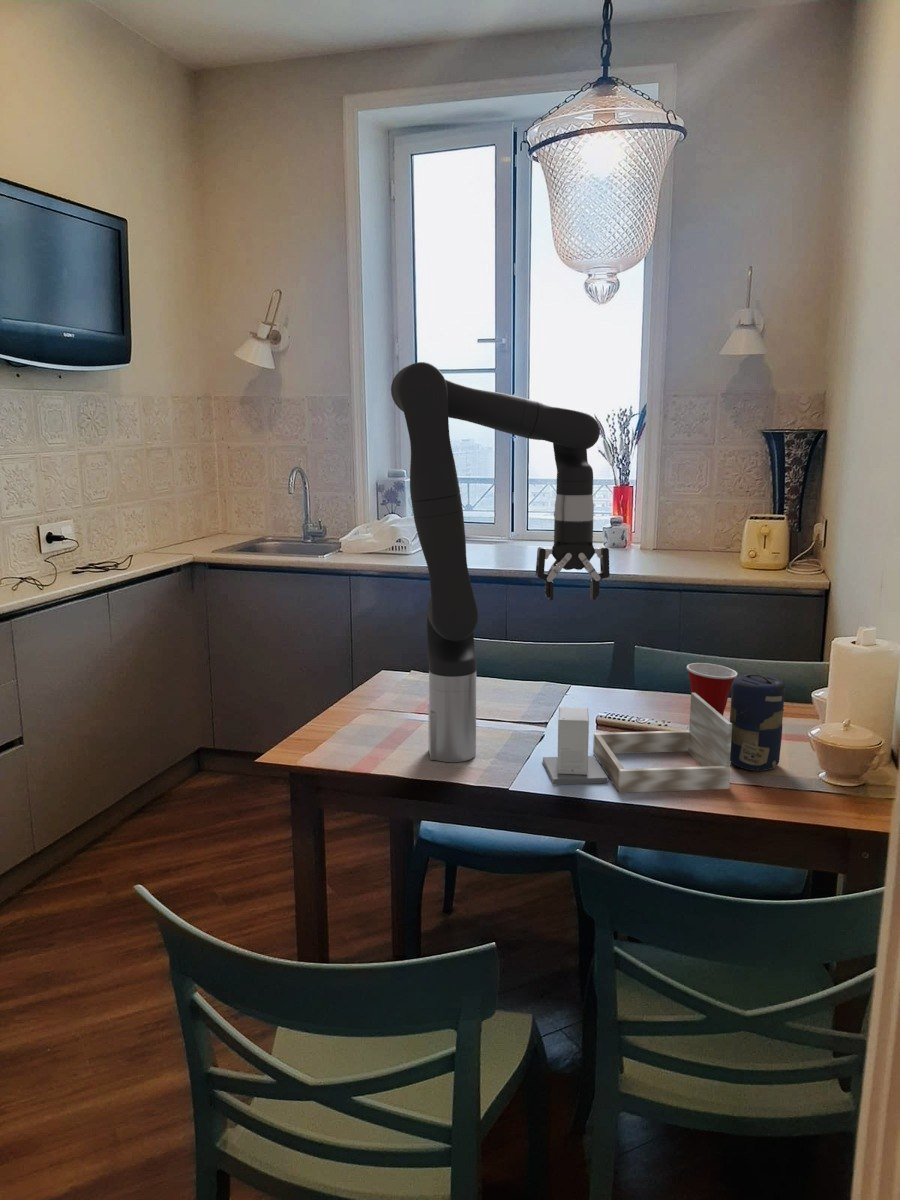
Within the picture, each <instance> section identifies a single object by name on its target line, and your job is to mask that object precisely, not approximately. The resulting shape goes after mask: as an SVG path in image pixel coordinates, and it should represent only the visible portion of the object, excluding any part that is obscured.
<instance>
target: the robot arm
mask: <svg viewBox="0 0 900 1200" xmlns="http://www.w3.org/2000/svg"><path fill="white" fill-rule="evenodd" d="M390 394H391V397H392V400H393V402H394V404H395V406H396V407H397V408H398V409H399V410H400V411H401V412H403V415H404V419H405V422H406V427H407V432H408V436H409V442H410V443H409V444H410V445H409V446H410V465H409V467H410V468H409V493H410V500H411V508H412V515H413V519H414V525H415V528H416V529H415V530H416V532H417V537H418V541H419V544H420V546H421V547H420V548H421V550H422V553H423V557H424V559H425V562H426V567H427V570H428V576H429V584H430V585H429V587H430V599H429V601H428V603H427V608H426V635H427V637H426V638H427V641H426V642H427V643H426V645H427V646H426V647H427V660H428V689H429V690H428V696H429V697H428V706H427V707H428V713H427V714H428V715H427V717H428V753H429V760H430V761H438V762H439V761H440V762H445V763H459V762H460V763H461V762H466V761H469V760H472V759H474V758H475V757H476V756H477V755H476V754H477V655H476V648H475V630H476V628H477V625H478V622H479V617H480V615H479V614H480V613H479V609H478V605H477V602H476V597H475V595H474V590H473V586H472V583H471V578H470V574H469V569H468V562H467V561H468V559H467V544H466V543H467V542H466V530H465V529H466V527H465V520H464V519H465V518H464V511H463V502H462V495H461V489H460V483H459V479H458V473H457V468H456V467H457V466H456V462H455V457H454V453H453V448H452V443H451V438H450V424H449V423H450V422H449V420H450V419H455V420H460V421H463V422H464V421H465V422H468V423H471V424H476V425H480V426H482V427H485V428H489V429H493V430H496V431H499V432H503V433H506V434H509V435H514V436H517V437H521V438H525V439H529V440H537V441H545V442H549V443H552V447H553V454H554V460H555V461H554V462H555V466H556V493H555V494H556V495H555V503H554V512H553V518H554V519H553V521H554V524H553V526H554V527H553V545H552V548H549V547H548V548H547V547H546V548H545V547H543V546H539V547H537V552H536V563H535V564H536V565H535V576H536V577H537V578H538V579H541V580H544V596H545V597H546V598H547V600H548V601H553V600H554V582H553V580H554V579H555V578H556V576H557V575H558V574H559V573H561V571H562V570H565V571H571V570H573V569H574V570H577V571H579V570H583V569H585V571H586V572H587V573H588V574H589V576H590V577H591V579H590V582H589V587H590V588H589V589H590V591H589V599H590V600H591V601H595V600H596V599H597V598H598V597H599V596H600V581H601V580H603V579H605V578H606V579H608V578H609V577H610V550H609V548H608V547H607V546H604V545H603V546H600V547H595V546H594V544H593V543H594V541H593V540H594V510H595V507H594V495H593V493H594V472H593V470H594V469H593V467H592V466H591V465H590V464H589V462H588V450H589V449H590V448H592V447H594V446H595V445H596V444H597V442H598V441H599V439H600V434H601V429H600V428H601V427H600V425H599V423H598V421H597V419H596V418H595V417H593V415H590V414H588V413H587V412H583V411H578V410H575V409H574V410H573V409H568V408H563V407H557V406H552V405H550V404H549V405H548V404H546V403H543V402H541V401H536V400H533V399H529V398H525V397H522V396H517V395H513V394H507V393H503V392H497V391H491V390H485V389H479V388H474V387H469V386H466V385H461V384H459V383H455V382H453V381H451V380H448V379H445V376H444V375H443V373H442V372H441V370H440V369H439V368H438V367H437V366H435V365H434V364H431V363H429V362H425V361H419V362H415V363H411V364H410V365H407V366H405V367H403V368H402V369H401V370H400V371H398V372H397V373H396V375H395V376H394V378H393V380H392V382H391V386H390ZM550 555H552V557H553V558H554V559H555V561H553V562H552V564H551V566H550V568H549V569H548V570H547V572H545V566H546V565H545V564H546V560H547V559H549V557H550ZM594 555H596V557H597V558H598V559H600V560H599V561H600V564H599V567H600V571H598V572H597V570H596V569H595V568H594V566H593V564H592V563H591V562H590V561H591V559H592V558H593V556H594Z"/></svg>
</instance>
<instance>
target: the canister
mask: <svg viewBox="0 0 900 1200" xmlns="http://www.w3.org/2000/svg"><path fill="white" fill-rule="evenodd" d="M785 694H786V686H785V683H784V682H783V681H782V680H780V679H779V678H777V677H774V676H769V675H763V674H760V673H758V674H757V673H749V674H741V675H737V677H735V679H734V680H733V683H732V686H731V697H730V698H731V699H730V711H729V722H730V723H732V737H731V753H730V763H731V764H733V765H734V766H737V768H741V769H744V770H750V771H768V770H771V769H774V768H776V767H777V766H778V765H779V763H780V759H781V746H782V738H783V737H782V736H783V720H784V719H783V716H784V706H785V705H784V704H785V696H786V695H785Z"/></svg>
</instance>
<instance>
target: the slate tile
mask: <svg viewBox="0 0 900 1200" xmlns="http://www.w3.org/2000/svg"><path fill="white" fill-rule="evenodd" d="M542 764H543V766H544V768H545V770H546V772H547V774H548V777H549V779H550V781H551V783H552V784H557V785H577V784H578V785H581V784H586V785H587V784H608V782H609V781H608V780H609V779H608V778H609V776H608V774H607V773H606V771H605V770H604V768H603V767H602V765H601V764H600V762H599V761H598V759H597V758H596V756H595V755H588V774H587V775H579V774H558V756H544V757H542Z"/></svg>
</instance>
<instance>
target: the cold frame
mask: <svg viewBox="0 0 900 1200" xmlns="http://www.w3.org/2000/svg"><path fill="white" fill-rule="evenodd" d="M689 706H690V710H689V711H690V712H689V724H688V725H689V730H688V729H687V730H658V731H655V730H654V731H652V730H651V731H626V732H625V731H624V732H618V731H617V732H593V742H592V743H593V746H592V747H593V748H592V749H593V750H592V753H593V754H594V757H595V758H596V760H597V761H598V763H599V764H600V766H601V767H602V769H603V770H604V772H605V774H606V775H607V777H608V778H609V779H610V780H611V782H612V783H613V784H614V786H615V788H616V790H617V791H618V792H619V793H645V792H646V793H647V792H648V793H649V792H676V791H677V792H679V791H706V790H708V791H709V790H730V784H731V771H732V769H731V766H730V765H731V761H730V753H731V737H732V723H730V720H728V719H727V718H726V717H724V715H723V716H722V715H721V714H720V713H719V712H717V711H716V710H715V709H714V708H713V707H712V706H710V705H709V704H708V703H707V702H706V701H704V700H703V699H702V698H701V697H700V696H699V695H697V694H696V693H691V692H690V705H689ZM671 752H672V753H675V752H677V753H679V752H688V753H689V754H690V755H691V756H692V757H693V758H694V760H696V762H698V764H700V765H701V766H679V767H678V766H677V767H675V766H674V767H647V768H645V767H644V768H641V767H640V768H624V766H623V765H622V763H621V762H620V761H619V759H618V758H617V756H616V755H615V754H637V753H638V754H639V753H640V754H642V753H671Z"/></svg>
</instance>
